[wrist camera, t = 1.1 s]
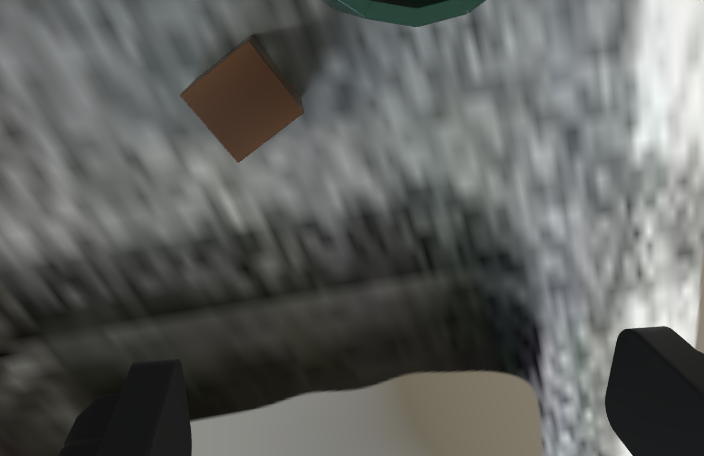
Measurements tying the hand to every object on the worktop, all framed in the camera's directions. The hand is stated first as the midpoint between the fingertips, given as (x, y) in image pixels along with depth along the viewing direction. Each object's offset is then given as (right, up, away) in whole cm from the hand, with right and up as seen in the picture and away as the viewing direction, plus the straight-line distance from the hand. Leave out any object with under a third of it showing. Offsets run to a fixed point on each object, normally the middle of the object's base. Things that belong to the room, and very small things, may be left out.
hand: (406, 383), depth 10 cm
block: (-6, +10, +19) cm, 23 cm away
